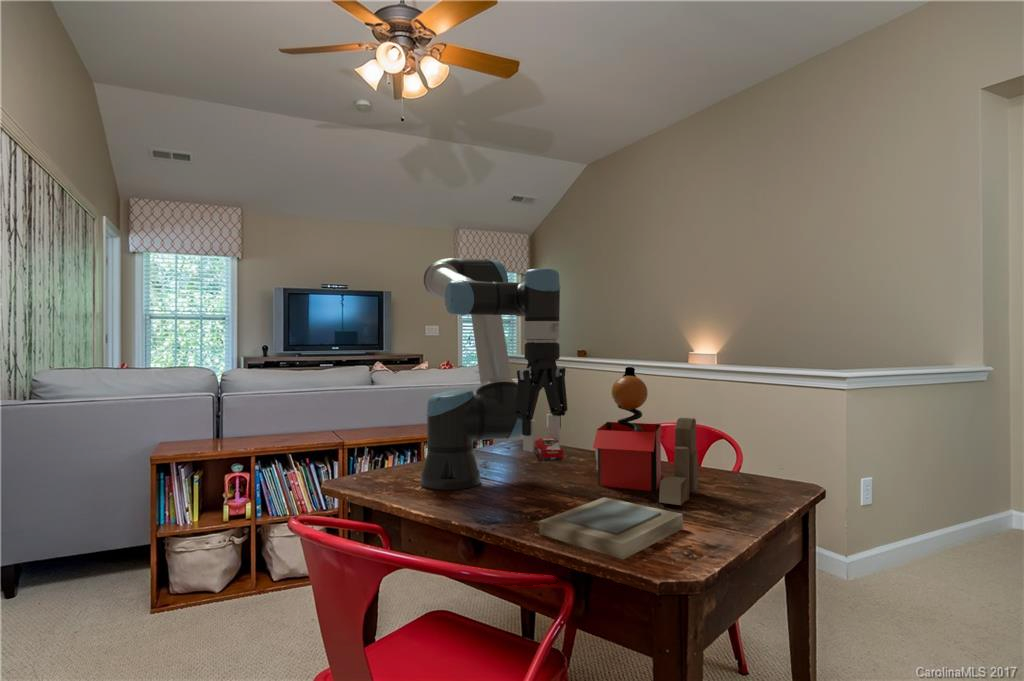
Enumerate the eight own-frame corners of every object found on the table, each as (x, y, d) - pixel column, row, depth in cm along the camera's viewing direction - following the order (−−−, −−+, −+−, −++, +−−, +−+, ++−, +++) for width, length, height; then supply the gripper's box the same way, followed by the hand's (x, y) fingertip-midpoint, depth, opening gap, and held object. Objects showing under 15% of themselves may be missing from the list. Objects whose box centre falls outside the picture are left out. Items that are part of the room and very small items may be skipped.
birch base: (539, 537, 106) (539, 519, 106) (604, 511, 122) (604, 495, 122) (622, 561, 94) (622, 541, 94) (682, 529, 110) (682, 511, 110)
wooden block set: (675, 489, 140) (674, 416, 140) (698, 492, 137) (698, 418, 138) (655, 506, 126) (654, 425, 126) (680, 510, 123) (680, 427, 123)
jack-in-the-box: (607, 469, 163) (606, 365, 163) (663, 473, 157) (662, 365, 157) (588, 491, 138) (588, 369, 138) (653, 497, 133) (653, 370, 133)
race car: (530, 450, 125) (530, 432, 125) (554, 449, 125) (554, 431, 125) (538, 465, 112) (538, 445, 112) (565, 464, 112) (565, 444, 112)
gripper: (523, 342, 111) (523, 458, 111) (584, 341, 126) (584, 443, 126) (496, 341, 116) (496, 452, 116) (557, 341, 131) (557, 439, 132)
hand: (542, 447), depth 121 cm, fingers closed on race car, 8 cm apart
